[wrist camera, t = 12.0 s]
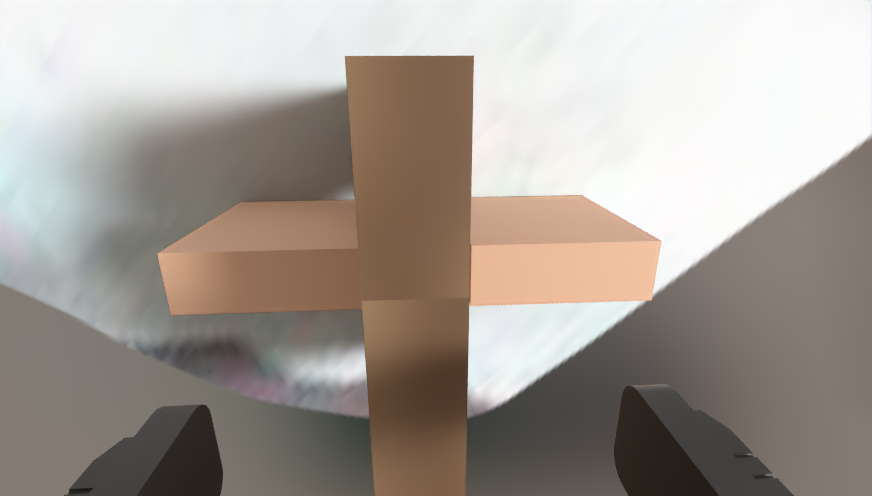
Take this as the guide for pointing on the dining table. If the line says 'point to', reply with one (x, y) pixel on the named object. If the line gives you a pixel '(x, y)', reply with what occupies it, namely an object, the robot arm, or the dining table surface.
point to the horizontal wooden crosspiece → (339, 261)
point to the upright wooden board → (414, 263)
